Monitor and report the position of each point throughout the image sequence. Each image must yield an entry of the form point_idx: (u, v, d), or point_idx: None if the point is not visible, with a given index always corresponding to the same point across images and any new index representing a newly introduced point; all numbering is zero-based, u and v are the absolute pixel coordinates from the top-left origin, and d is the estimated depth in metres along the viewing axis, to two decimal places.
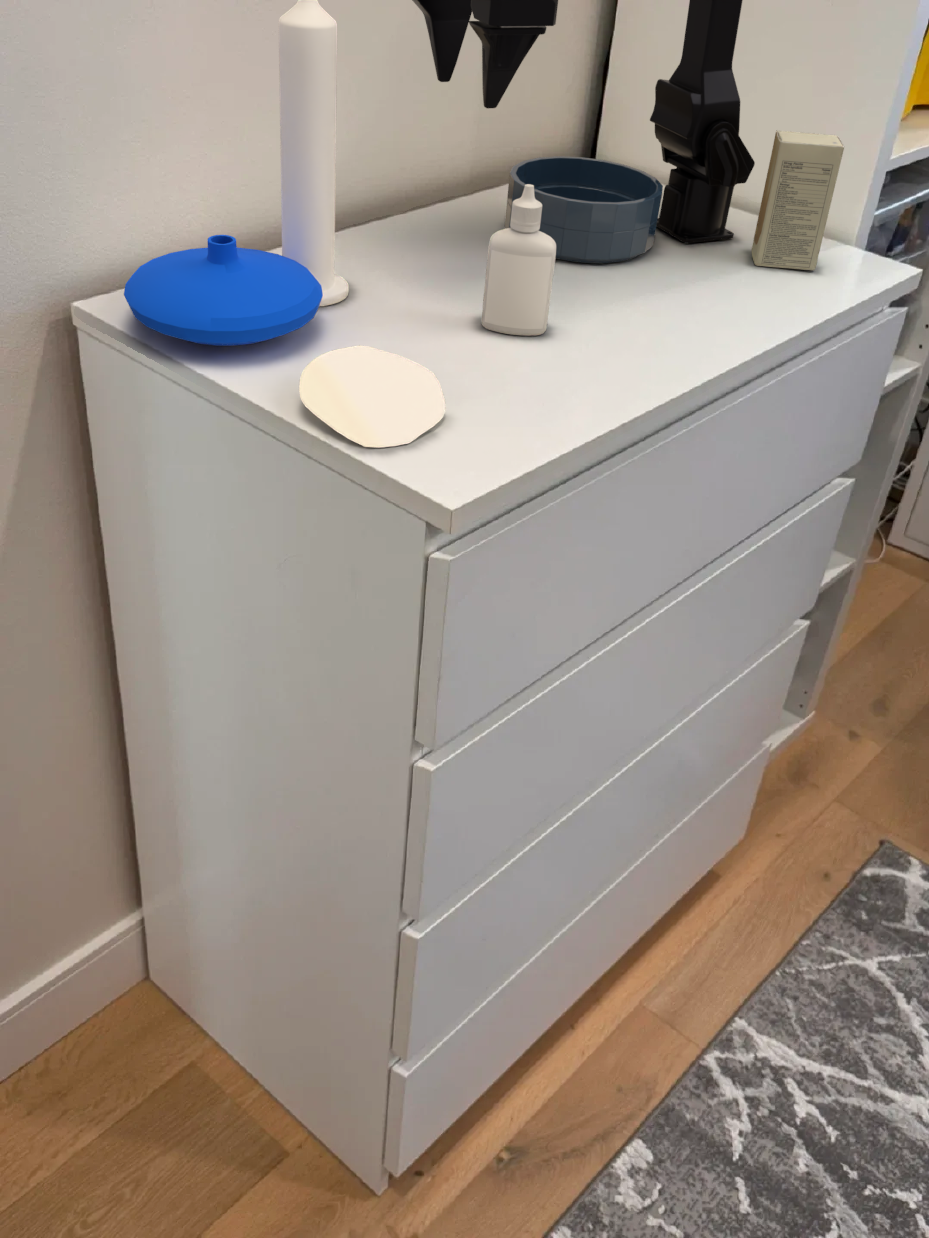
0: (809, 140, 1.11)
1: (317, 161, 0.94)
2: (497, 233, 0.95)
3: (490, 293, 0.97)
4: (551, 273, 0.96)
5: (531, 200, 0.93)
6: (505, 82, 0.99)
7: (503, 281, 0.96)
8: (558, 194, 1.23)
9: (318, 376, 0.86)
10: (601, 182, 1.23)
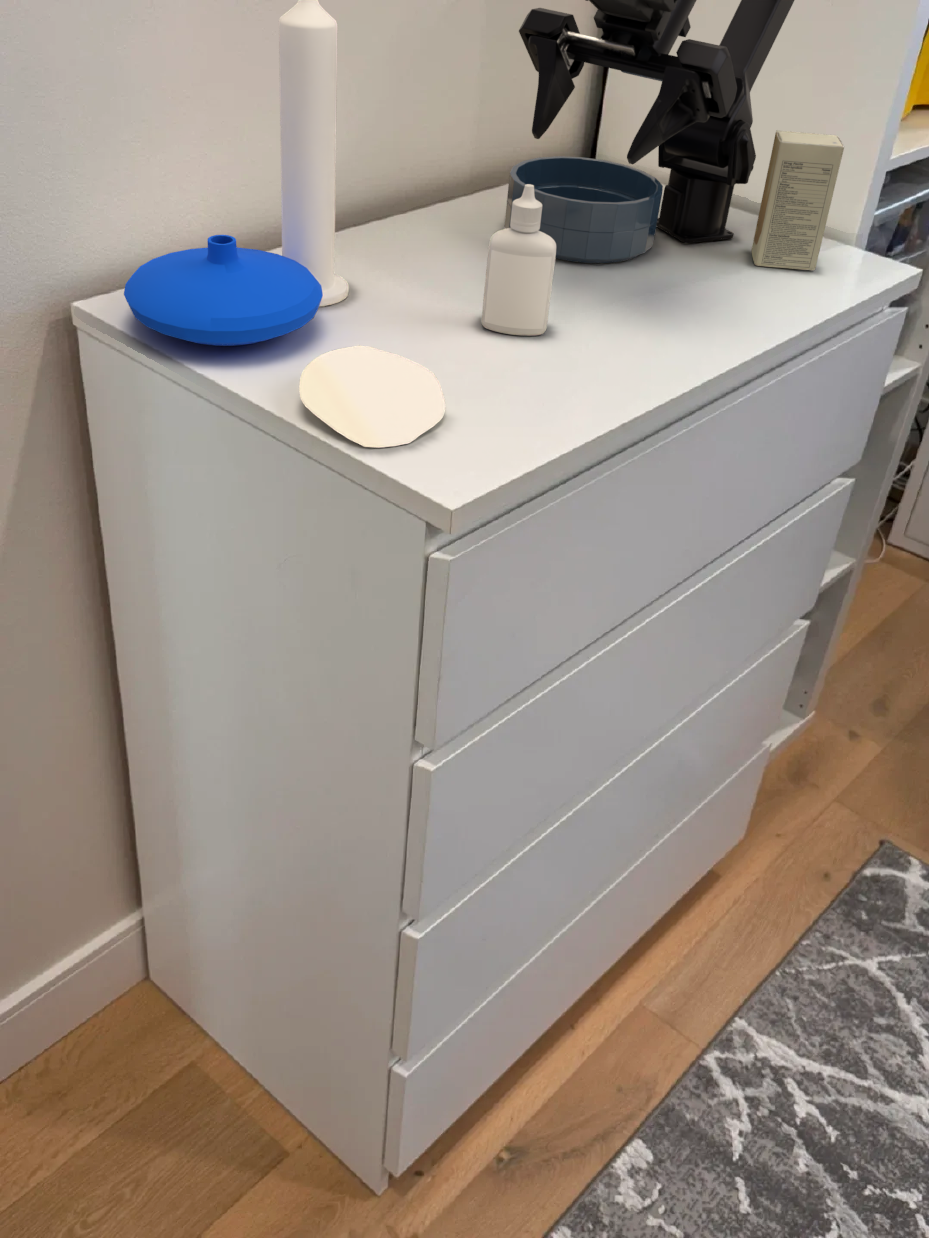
0: (809, 140, 1.11)
1: (317, 161, 0.94)
2: (497, 233, 0.95)
3: (490, 293, 0.97)
4: (551, 273, 0.96)
5: (531, 200, 0.93)
6: (651, 146, 0.96)
7: (503, 281, 0.96)
8: (558, 194, 1.23)
9: (318, 376, 0.86)
10: (601, 182, 1.23)
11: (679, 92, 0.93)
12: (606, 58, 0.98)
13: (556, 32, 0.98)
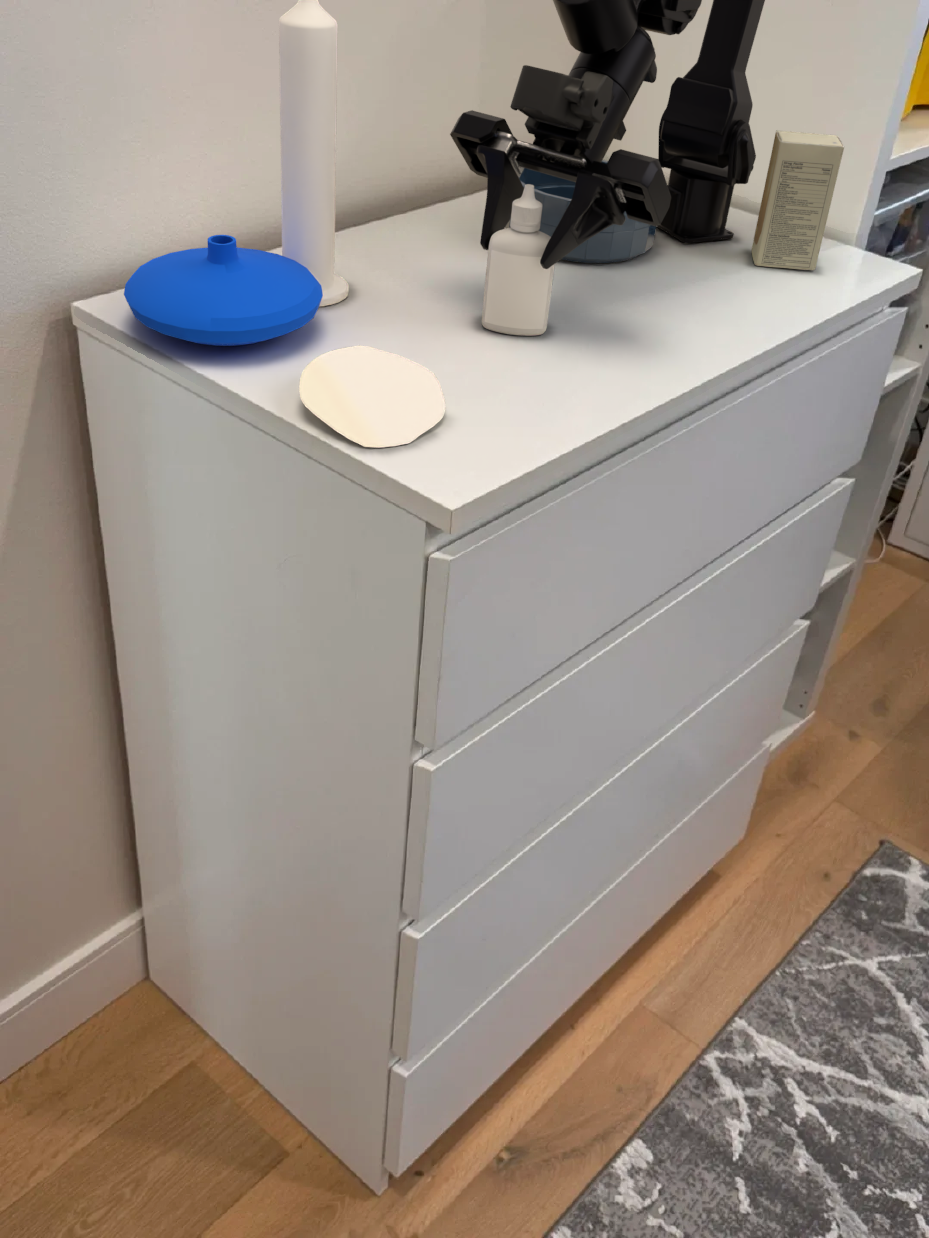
0: (809, 140, 1.11)
1: (317, 161, 0.94)
2: (497, 233, 0.95)
3: (490, 293, 0.97)
4: (551, 273, 0.96)
5: (531, 200, 0.93)
6: (566, 250, 0.95)
7: (503, 281, 0.96)
8: (558, 194, 1.23)
9: (318, 376, 0.86)
10: None
11: (591, 199, 0.92)
12: (539, 163, 0.96)
13: (487, 137, 0.96)
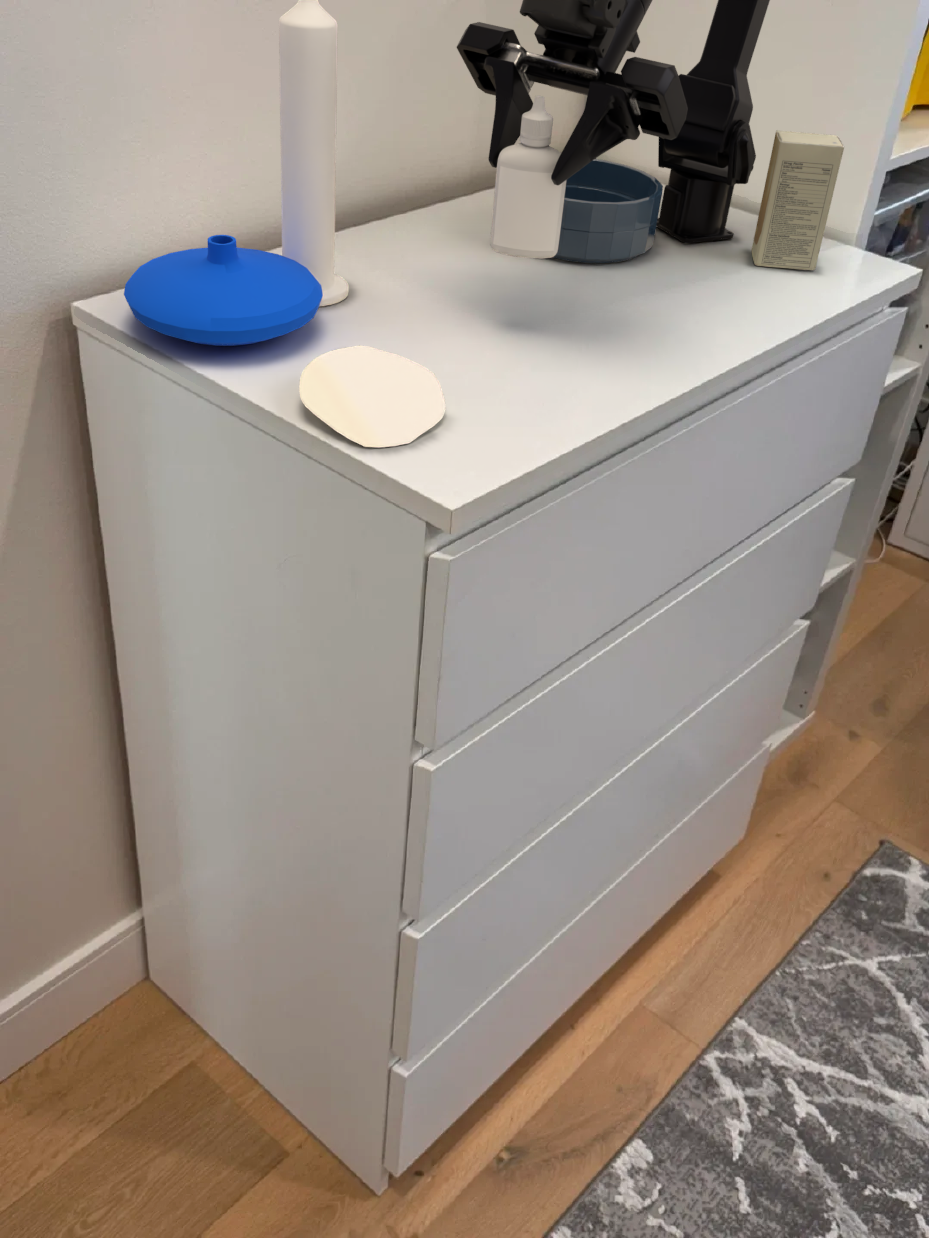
0: (809, 140, 1.11)
1: (317, 161, 0.94)
2: (506, 149, 0.91)
3: (499, 213, 0.93)
4: (562, 191, 0.92)
5: (541, 112, 0.89)
6: (578, 165, 0.91)
7: (512, 200, 0.92)
8: None
9: (318, 376, 0.86)
10: (601, 182, 1.23)
11: (605, 109, 0.88)
12: (549, 76, 0.92)
13: (495, 49, 0.92)
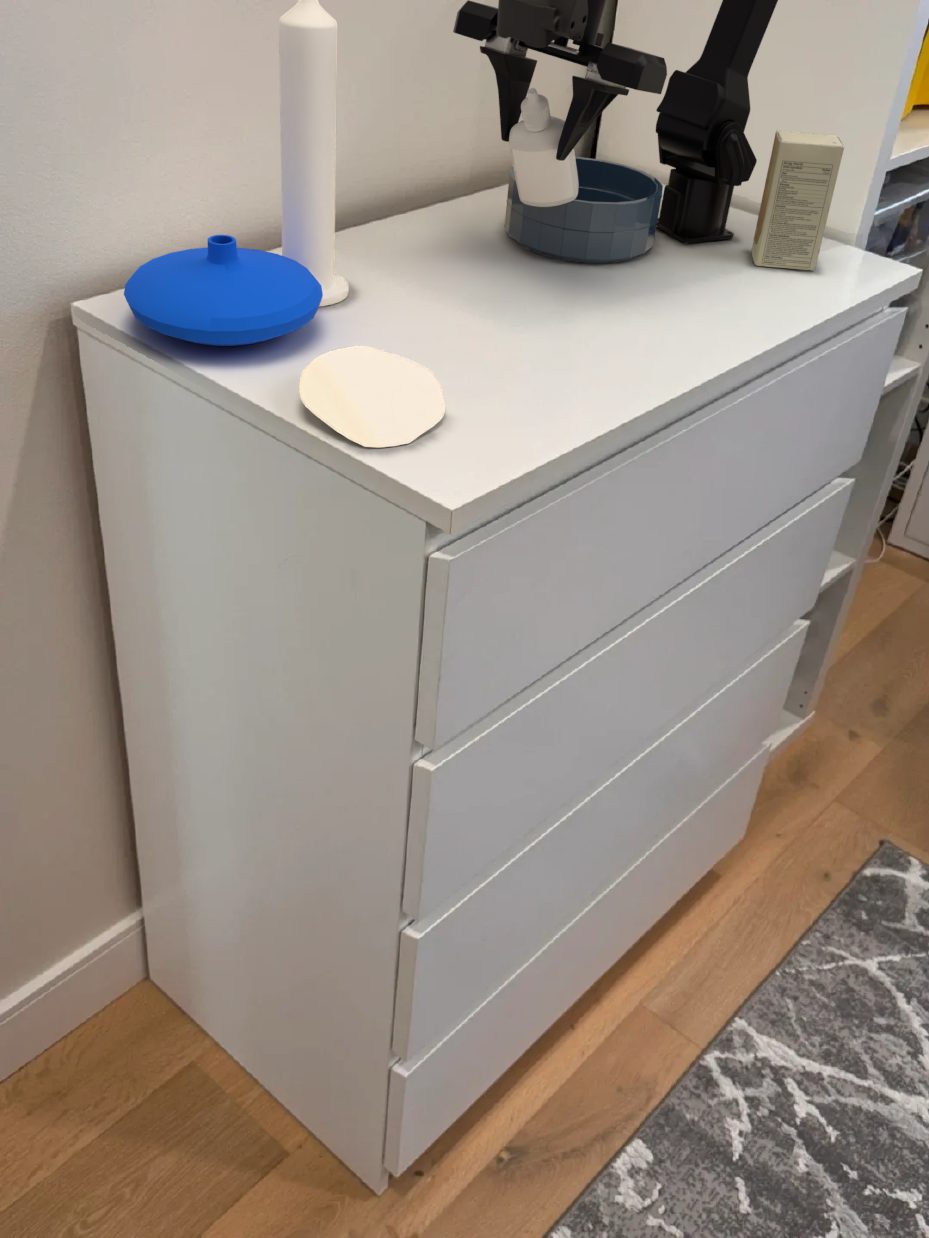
0: (809, 140, 1.11)
1: (317, 161, 0.94)
2: (514, 131, 1.04)
3: (520, 180, 1.08)
4: (570, 155, 1.05)
5: (536, 104, 1.01)
6: (578, 136, 1.03)
7: (528, 171, 1.06)
8: None
9: (318, 376, 0.86)
10: (601, 182, 1.23)
11: (590, 97, 0.99)
12: (539, 48, 1.01)
13: (486, 36, 1.01)
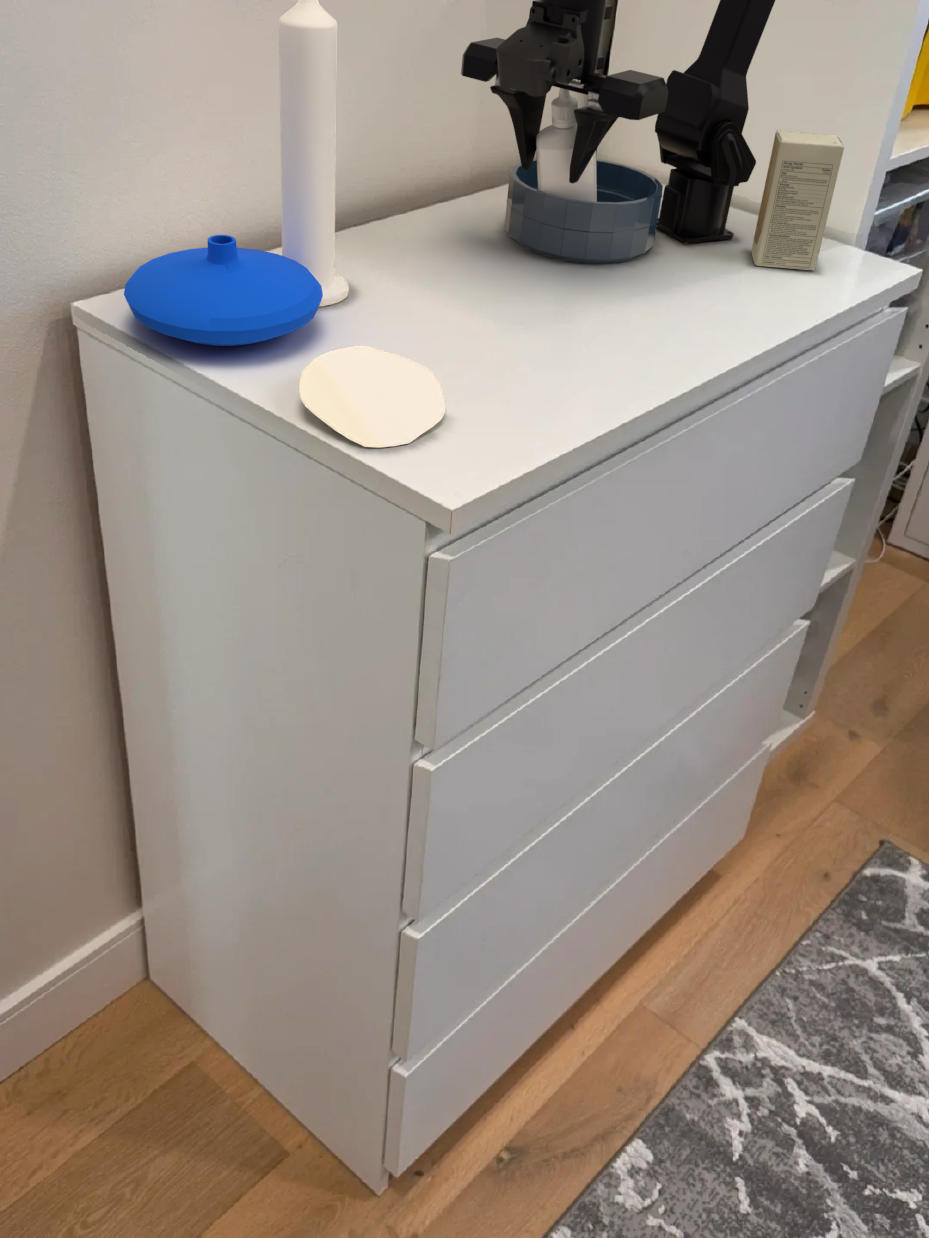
0: (809, 140, 1.11)
1: (317, 161, 0.94)
2: (542, 132, 1.09)
3: (543, 186, 1.11)
4: (594, 158, 1.10)
5: (567, 99, 1.06)
6: (588, 157, 1.08)
7: (553, 174, 1.10)
8: None
9: (318, 376, 0.86)
10: (601, 182, 1.23)
11: (593, 126, 1.03)
12: None
13: (492, 76, 1.06)
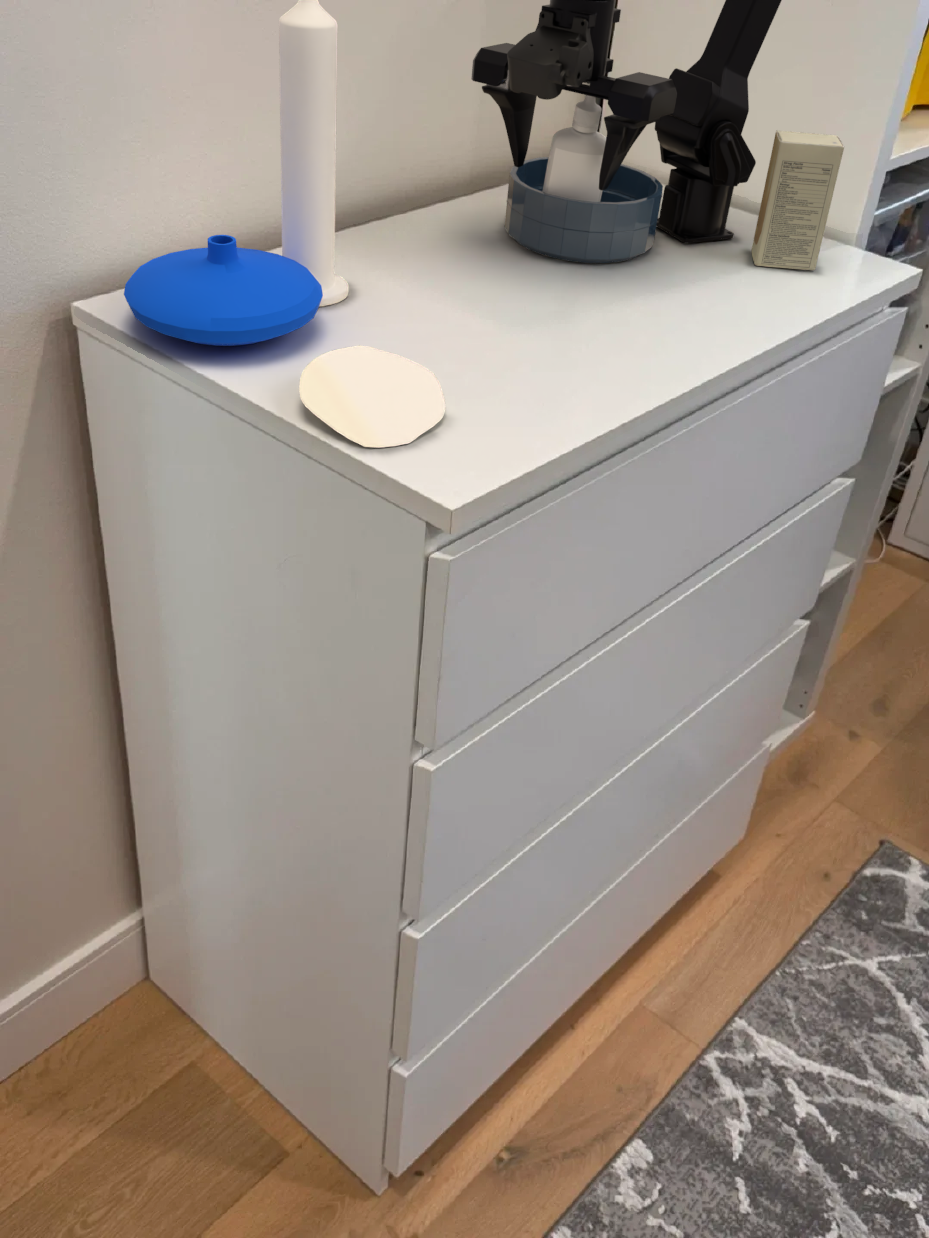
0: (809, 140, 1.11)
1: (317, 161, 0.94)
2: (560, 133, 1.09)
3: (551, 186, 1.12)
4: None
5: (593, 104, 1.07)
6: (617, 164, 1.08)
7: (564, 176, 1.10)
8: None
9: (318, 376, 0.86)
10: None
11: (623, 133, 1.04)
12: None
13: (502, 81, 1.07)
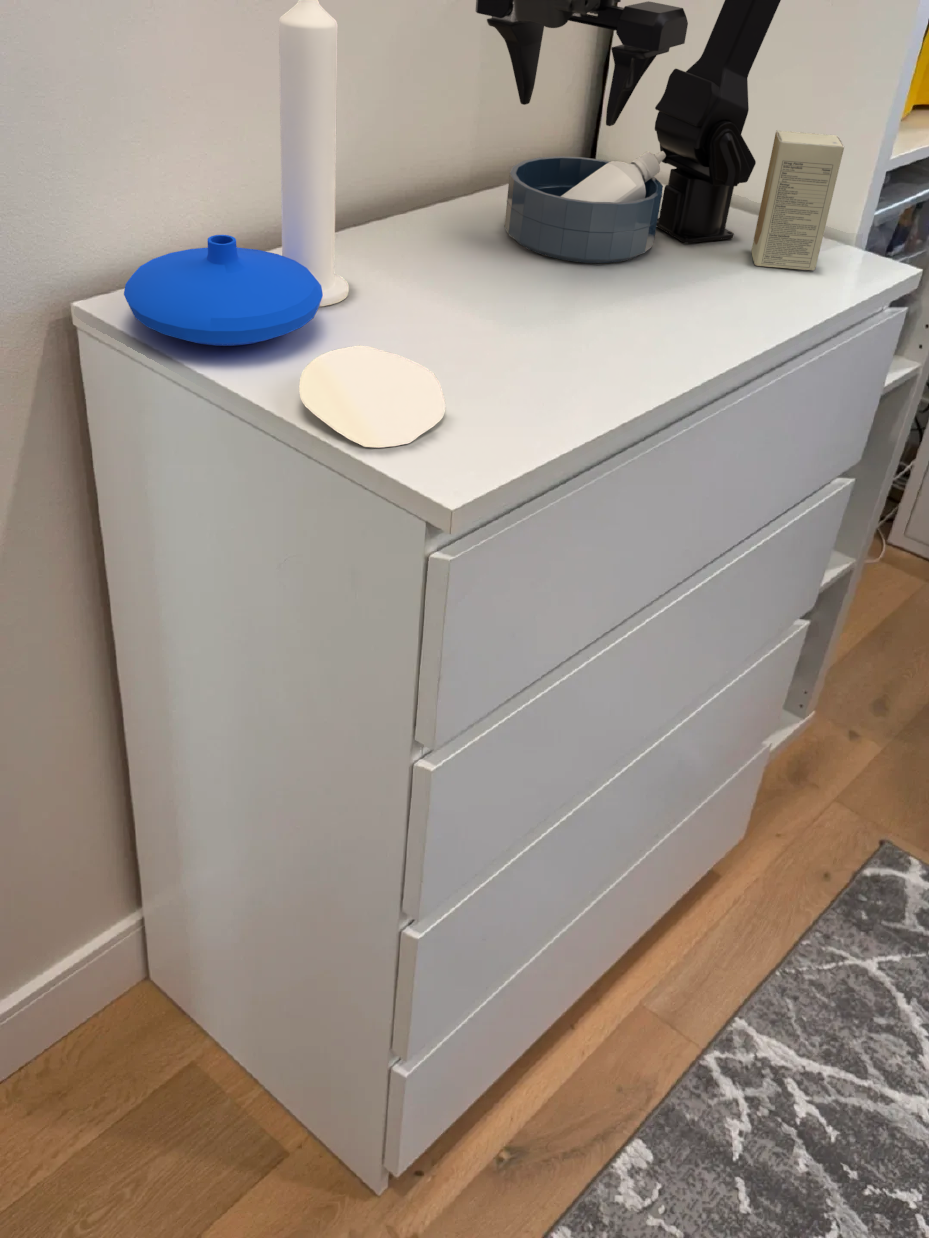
0: (809, 140, 1.11)
1: (317, 161, 0.94)
2: None
3: (579, 184, 1.17)
4: (626, 196, 1.15)
5: (657, 157, 1.17)
6: (625, 99, 1.05)
7: (594, 178, 1.17)
8: (558, 194, 1.23)
9: (318, 376, 0.86)
10: None
11: (631, 64, 1.01)
12: None
13: (507, 12, 1.04)
